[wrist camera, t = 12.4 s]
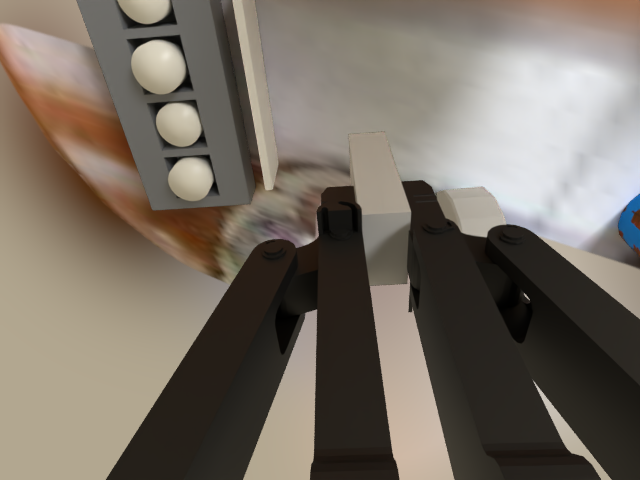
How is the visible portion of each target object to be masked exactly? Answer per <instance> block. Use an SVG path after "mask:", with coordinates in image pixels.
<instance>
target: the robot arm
mask: <svg viewBox="0 0 640 480" xmlns="http://www.w3.org/2000/svg"><path fill="white" fill-rule="evenodd" d="M349 153H350V178H351V186H342V187H327V188H326V189H325V191H324V192H323V193H322V194H321V206H319V207H318V210H317V221H318V231H319V237H318V238H317V239H316V240H315V241H314V242H312V243H310V244H308V245H305V246H302V247H298V248H296V247H295V245H294V244H293V243H291V242H290V241H288V240H283V239H272V240H268V241H265V242H263V243H261V244H259V245H257V246H256V247H255V248H254V249H253V251H252V252H251V254H250V255H249V257H248V258H247V260H246V262H245V263H244V265H243V266H242V268H241V269H240V271H239V273H238V274H237V276H236V277H235V279H234V280H233V282H232V283H231V285H230V287H229V288H228V290H227V291H226V293H225V294H224V296H223V298H222V299H221V301H220V302H219V304H218V305H217V307H216V308H215V310H214V312H213V313H212V315H211V316H210V318H209V319H208V321H207V322H206V324H205V326H204V327H203V329H202V330H201V332H200V333H199V335H198V337H197V338H196V340H195V341H194V343H193V345H192V346H191V347H190V349H189V351H188V352H187V354H186V356H185V357H184V358H183V360H182V362H181V363H180V365H179V366H178V368H177V369H176V371H175V372H174V374H173V376H172V377H171V379H170V380H169V382H168V383H167V385H166V387H165V388H164V390H163V391H162V393H161V394H160V396H159V397H158V399H157V401H156V402H155V404H154V405H153V407H152V408H151V410H150V412H149V413H148V415H147V416H146V418H145V419H144V421H143V422H142V424H141V426H140V427H139V429H138V430H137V432H136V433H135V435H134V436H133V438H132V440H131V441H130V443H129V444H128V446H127V448H126V449H125V451H124V452H123V454H122V455H121V457H120V458H119V460H118V461H117V463H116V465H115V466H114V468H113V469H112V471H111V472H110V474H109V476H108V477H107V479H106V480H243V478H244V475H245V472H246V470H247V467H248V465H249V462H250V460H251V457H252V455H253V452H254V449H255V447H256V444H257V441H258V439H259V436H260V434H261V431H262V429H263V426H264V423H265V421H266V418H267V416H268V412H269V410H270V407H271V405H272V402H273V400H274V397H275V395H276V392H277V389H278V387H279V384H280V382H281V379H282V376H283V374H284V371H285V369H286V366H287V363H288V361H289V358H290V356H291V353H292V350H293V348H294V345H295V343H296V340H297V337H298V335H299V332H300V330H301V327H302V324H303V322H304V319H305V313H306V312H309V311H312V310H316V309H317V346H316V391H315V437H314V438H315V439H314V440H315V441H314V460H313V463H312V464H311V472H310V480H399V474H398V469H397V464H396V461H395V460H394V458H393V453H392V447H391V440H390V432H389V424H388V417H387V410H386V403H385V395H384V388H383V382H382V381H383V380H382V374H381V366H380V358H379V352H378V344H377V337H376V329H375V322H374V314H373V307H372V300H371V293H370V286H374V285H375V286H376V285H394V284H407V278H408V275H409V278H410V295H409V312H412V307H413V311H414V315H415V318H416V323H417V327H418V331H419V335H420V339H421V344H422V347H423V352H424V356H425V360H426V364H427V368H428V372H429V376H430V381H431V385H432V389H433V393H434V397H435V401H436V405H437V409H438V414H439V417H440V422H441V426H442V430H443V434H444V438H445V442H446V446H447V451H448V454H449V458H450V463H451V467H452V471H453V475H454V479H455V480H601V478H600V477H599V475H598V474H597V472H596V470H595V469H594V467H593V466H592V464H591V463H589V461H587V460H586V459H585V458H584V457H583V456H579V455H576V454H572V453H571V452H570V451H569V450H568V449H567V448H566V447H565V445H564V443H563V442H562V440H561V438H560V436H559V433H558V431H557V429H556V427H555V425H554V423H553V421H552V419H551V417H550V415H549V413H548V411H547V409H546V407H545V404H544V402H543V400H542V398H541V396H540V394H539V392H538V390H537V388H536V386H535V384H534V382H535V383H536V384H537V386H538V387H539V388H540V389H541V391H542V392H543V393H544V395H545V396H546V397H547V398H548V400H549V401H550V402H551V403H552V405H553V406H554V407H555V408H556V410H557V411H558V412H559V413H560V415H561V416H562V417H563V419H564V420H565V421H566V422H567V423H568V425H569V426H570V427H571V428H572V430H573V431H574V433H576V435H577V436H578V438H579V439H580V440H581V441H582V443H583V444H584V445H585V446H586V448H587V449H588V450H589V451H590V453H591V454H592V455H593V457H594V458H595V459H596V460H597V462H598V463H599V464H600V465H601V467H602V468H603V469H604V471H605V472H606V473H607V474H608V476H609V477H610V478H611V479H612V480H640V319H639V318H638V317H636V316H635V315H634V314H633V313H631V312H630V311H629V310H628V309H626V308H625V307H624V306H623V305H622V304H620V303H619V302H618V301H617V300H615V299H614V298H613V297H611V296H610V295H609V294H608V293H607V292H605V291H604V290H603V289H602V288H600V287H599V286H598V285H597V284H596V283H594V282H593V281H592V280H591V279H589V278H588V277H587V276H586V275H585V274H583V273H582V272H581V271H580V270H578V269H577V268H576V267H575V266H574V265H572V264H571V263H570V262H569V261H567V260H566V259H565V258H564V257H562V256H561V255H560V254H559V253H558V252H556V251H555V250H554V249H552V248H551V247H550V246H549V245H548V244H547V243H545V242H544V241H543V240H542V239H540V238H539V237H538V236H537V235H535V234H534V233H533V232H531V231H530V230H528V229H526V228H523V227H520V226H517V225H509V224H507V225H498V226H495V227H492V228H491V229H490V230H489V231H488V233H487V237H481V236H473V235H468V234H464V233H461V231H460V229H459V227H458V226H457V225H456V223H455V222H453V221H451V220H449V219H447V218H445V215H444V213H443V211H442V209H441V207H440V205H439V202H438V201H437V198H436V196H435V194H434V191H433V189H432V187H431V186H430V185H428V184H427V183H426V182H424V181H423V180H419V181H404V182H401V180H400V177H399V174H398V171H397V168H396V165H395V162H394V159H393V156H392V153H391V150H390V147H389V144H388V141H387V138H386V135H385V132H372V133H358V134H349ZM524 293H525V294H526V295H527V296H528V298H529V299H530V300H528V299H527V298H526V297H525V296H524ZM532 379H533V380H532ZM533 381H534V382H533Z"/></svg>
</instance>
